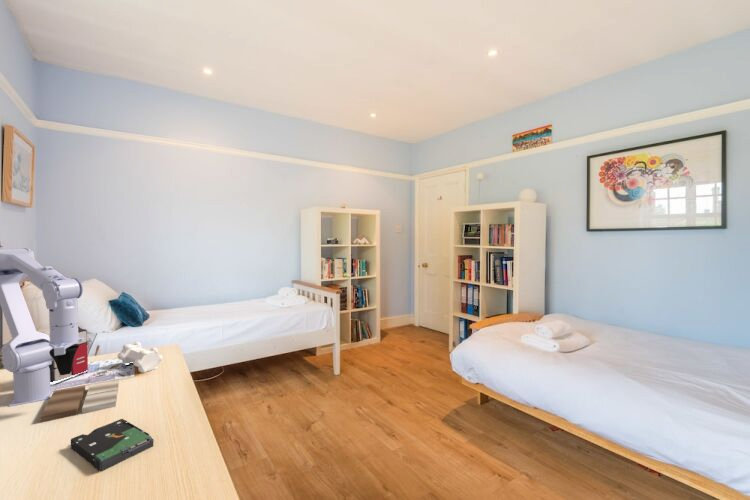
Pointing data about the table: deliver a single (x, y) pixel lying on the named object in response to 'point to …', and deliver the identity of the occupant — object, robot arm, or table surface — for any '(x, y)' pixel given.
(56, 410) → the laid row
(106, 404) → the plank
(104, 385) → the plank
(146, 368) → the bone shaped toy
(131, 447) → the disk drive
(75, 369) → the calculator
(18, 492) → the table surface
